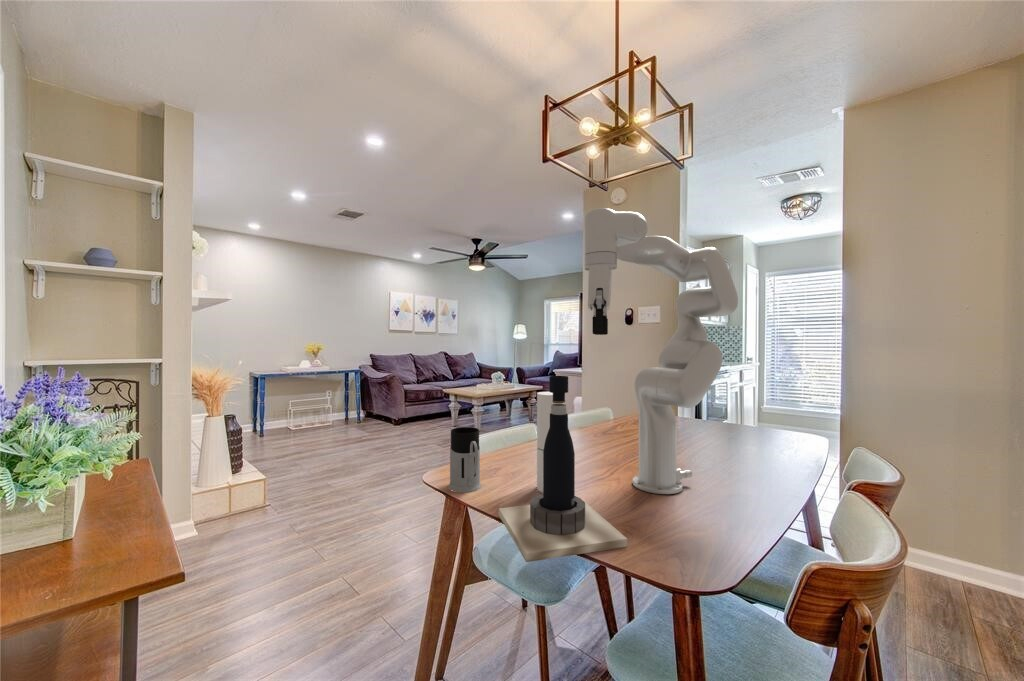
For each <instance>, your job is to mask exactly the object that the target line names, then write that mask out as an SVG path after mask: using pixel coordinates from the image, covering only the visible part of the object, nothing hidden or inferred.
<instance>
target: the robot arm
mask: <svg viewBox="0 0 1024 681" xmlns="http://www.w3.org/2000/svg"><path fill="white" fill-rule="evenodd" d="M648 231H649V225H648V221H647V219H646V218H645V217H644V216H643V215H642V214H641V213H639V212H636V211H635V212H634V211H615V210H613V209H611V208H607V207H605V208H604V207H599V208H594V209H590V210H589V211H588V212H586V214H585V216H584V270H585V271H588V280H587V309H589V311H593V316H592V334H593V335H595V336H596V335H597V336H598V335H600V336H603V335H604V336H606V335H608V333H609V329H608V328H609V327H608V326H609V322H608V320H609V319H608V315H607V314H608V310H609V311H610V306H611V299H612V298H611V297H612V276H613V275H612V271H614V270H616V269H617V268H618V265H617V264H618V260H619V261H623V262H627V263H631V264H636V265H641V266H645V267H646V266H647V267H651V268H652V269H655V270H656V271H659V272H660V273H662V274H664V275H666V276H667V277H669V278H671V279H673V280H675V281H677V282H679V283H690V282H691V283H692V282H699V281H705V280H707V281H708V282H709V285H710V286H703V287H695V288H689V289H686V290H683V291H681V292H680V293H679V294H678V296H677V297H676V300H675V310H676V311H675V312H676V318H677V327H676V330H675V332H674V334H672V336H671V338H669V340H668V341H667V343H666V344H665V345H664V347H663V348H662V350H661V352H660V354H659V356H658V365H659V367H658V366H656V367H653V366H651V367H646V368H643V369H642V370H640V371H639V372H638V373H637V374H636V376H635V381H634V391H635V396H636V402H637V409H638V410H637V411H638V475H635V476H633V477H632V484H633V486H634V487H635V488H637V489H639V490H640V491H644V492H646V493H651V494H656V495H674V494H677V493H681V492H682V491H683V489H684V485H683V484H684V483H682V482H681V480H682V479H688V478H689V479H690V478H692V477H693V472H692V470H689V469H687V470H682V469H681V468H677V459H678V458H677V456H678V455H677V449H678V448H677V443H678V442H677V441H678V440H677V429H678V428H677V427H678V426H677V418H676V415H675V411H674V410H673V408H672V406H673V407H677V408H686V409H689V408H690V409H691V408H693V407H696V406H698V405H699V403H700V402H701V401H702V400H703V399H704V397H705V395H706V394H707V392H708V391H709V390H710V388H711V387H712V384H713V383H714V381H715V379H716V378H717V377H718V374H719V372H720V370H721V367H722V362H723V356H722V355H723V354H722V351H721V349H720V348H719V346H718V345H717V344H715V343H714V342H712V341H710V340H707V339H708V332H707V330H706V328H705V326H704V325H703V324H702V322H701V319H700V318H712V317H714V318H715V317H725V316H729V315H731V314H733V313H734V312H735V311H736V310H737V308H738V307H739V306H738V304H739V297H738V296H739V295H738V291H737V288H736V287H735V283H734V280H733V277H732V274H731V272H730V269H729V266H728V264H727V262H726V259H725V258H724V255H722V253H721V251H719V250H718V248H716V247H713V246H710V247H709V246H707V247H704V248H698V249H694V250H689V249H687V248H686V247H684V246H682V245H681V244H679V243H677V241H674V240H673V239H672V238H670V237H667V236H663V235H661V236H660V235H647V233H648Z"/></svg>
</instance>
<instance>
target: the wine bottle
mask: <svg viewBox="0 0 1024 681" xmlns="http://www.w3.org/2000/svg"><path fill="white" fill-rule="evenodd" d="M548 378H549V379H548V380H549V391H548V392H551V393H553V400H552V402H553V403H565V404H552V406H551V408H552V410H551V412H552V413H550V427H549V430H548V433H547V436H546V440H545V444H544V450H543V493H542V495H543V508H546V509H548V510H554V511H565V510H571V509H573V508H575V496H576V493H575V491H576V490H575V488H576V487H575V483H576V482H575V478H576V477H575V474H576V473H575V464H576V463H575V460H576V459H575V457H576V456H575V454H576V453H575V447H574V443H573V438H572V435H571V433H570V429H569V414H568V413H567V412H568V410H567V409H568V407H567V404H566V394H567V393H569V376H568V375H550V376H549V377H548Z"/></svg>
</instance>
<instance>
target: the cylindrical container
mask: <svg viewBox="0 0 1024 681" xmlns="http://www.w3.org/2000/svg"><path fill="white" fill-rule="evenodd" d="M552 400H553V393H551V392H549V391H539V392H536V401H537V402H536V420H537V421H536V477H537V478H536V489H537V491H538V492H540V493H541V494H543V450H544V444H545V440H546V436H547V433H548V430H549V427H550V413H552V412H551V410H552V408H551V406H552V404H565V405H566V402H565V403H553V402H552Z"/></svg>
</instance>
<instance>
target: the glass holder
mask: <svg viewBox="0 0 1024 681" xmlns="http://www.w3.org/2000/svg"><path fill="white" fill-rule="evenodd" d="M480 455H481V447H480V429H479V428H477V427H473V426H472V427H471V426H467V427H466V426H462V427H460V426H459V427H456V428H452V429H451V430H450V447H449V472H450V474H449V484H448V487H449V488H448V490H449V489H450V491H451V490H453V491H452V492H454V491H456V492H455V493H459V492H460V494H461V493H463V494H465V492H467V493H473V492H476V491H478V489H479V490H480V489H481V488H482V484H481V480H480V479H481V475H480V472H481V471H480V470H481V469H480V468H481V463H480V461H481V456H480ZM472 491H473V492H472Z"/></svg>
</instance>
